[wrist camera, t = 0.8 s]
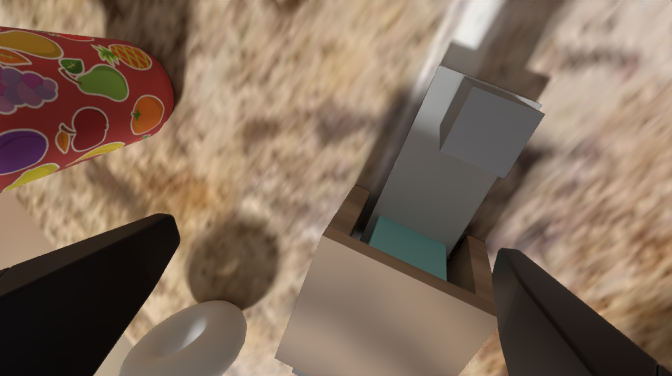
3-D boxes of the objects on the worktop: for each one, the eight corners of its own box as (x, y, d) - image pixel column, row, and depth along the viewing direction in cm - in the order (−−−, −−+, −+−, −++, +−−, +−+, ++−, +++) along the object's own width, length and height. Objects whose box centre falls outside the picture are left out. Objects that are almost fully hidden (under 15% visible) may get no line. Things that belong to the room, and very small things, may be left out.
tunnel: (419, 339, 26) (412, 431, 20) (313, 286, 28) (274, 357, 21) (484, 242, 22) (502, 320, 16) (354, 184, 23) (322, 235, 17)
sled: (391, 339, 27) (378, 419, 21) (328, 308, 27) (298, 377, 22) (537, 102, 18) (584, 126, 12) (439, 64, 19) (439, 70, 13)
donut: (258, 285, 29) (179, 387, 20) (273, 317, 30) (203, 428, 21) (175, 296, 33) (77, 386, 24) (191, 324, 34) (102, 421, 25)
